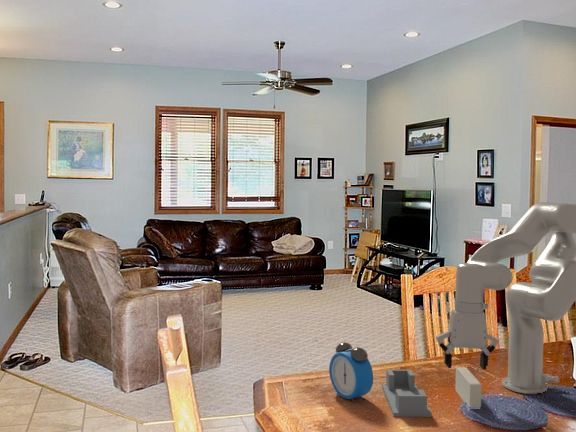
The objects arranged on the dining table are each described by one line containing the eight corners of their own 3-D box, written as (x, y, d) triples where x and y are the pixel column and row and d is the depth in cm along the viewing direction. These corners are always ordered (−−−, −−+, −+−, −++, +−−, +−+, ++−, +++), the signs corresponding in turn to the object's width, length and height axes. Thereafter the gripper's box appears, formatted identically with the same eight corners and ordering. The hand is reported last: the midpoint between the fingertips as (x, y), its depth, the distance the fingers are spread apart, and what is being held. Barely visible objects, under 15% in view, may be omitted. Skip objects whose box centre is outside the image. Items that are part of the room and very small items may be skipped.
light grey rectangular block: (465, 390, 164) (466, 367, 163) (480, 409, 150) (481, 384, 149) (455, 390, 164) (455, 367, 163) (469, 409, 150) (470, 384, 149)
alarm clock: (328, 391, 162) (328, 341, 161) (344, 387, 166) (345, 338, 165) (357, 406, 151) (358, 352, 150) (374, 401, 155) (375, 349, 154)
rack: (415, 387, 165) (415, 369, 165) (431, 416, 145) (432, 396, 144) (382, 387, 166) (382, 369, 165) (393, 416, 145) (393, 396, 145)
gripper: (495, 305, 159) (492, 364, 159) (434, 303, 159) (431, 362, 160) (504, 311, 151) (501, 373, 152) (441, 308, 151) (438, 370, 152)
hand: (465, 367), depth 156 cm, fingers open, 9 cm apart
